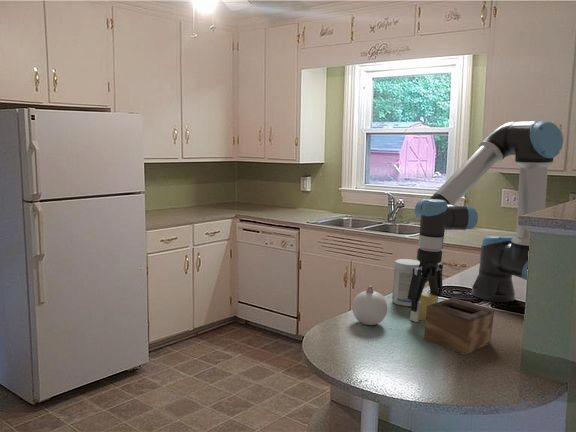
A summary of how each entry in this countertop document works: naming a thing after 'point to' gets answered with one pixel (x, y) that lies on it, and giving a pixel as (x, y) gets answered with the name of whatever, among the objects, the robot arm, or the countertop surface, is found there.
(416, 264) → the supplement tub
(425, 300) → the yellow rectangular block
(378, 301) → the ornament
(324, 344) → the countertop surface
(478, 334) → the brown wooden slotted box
